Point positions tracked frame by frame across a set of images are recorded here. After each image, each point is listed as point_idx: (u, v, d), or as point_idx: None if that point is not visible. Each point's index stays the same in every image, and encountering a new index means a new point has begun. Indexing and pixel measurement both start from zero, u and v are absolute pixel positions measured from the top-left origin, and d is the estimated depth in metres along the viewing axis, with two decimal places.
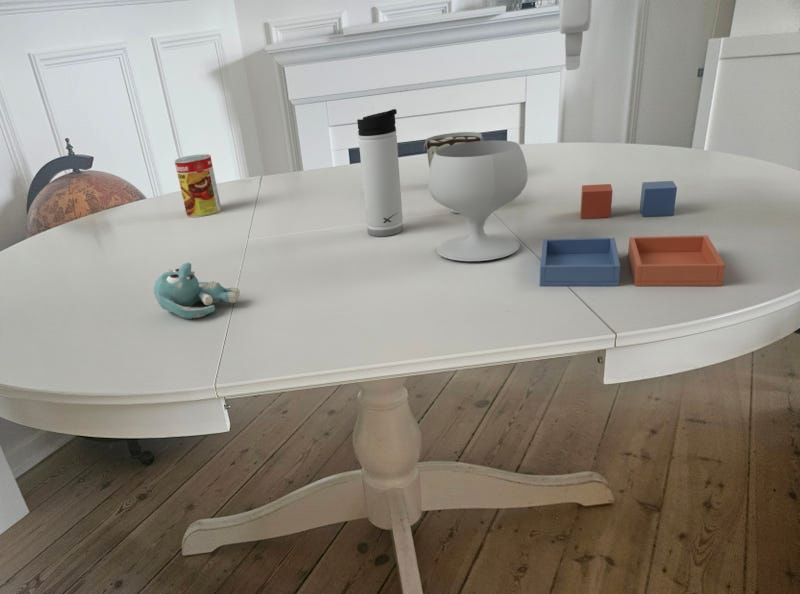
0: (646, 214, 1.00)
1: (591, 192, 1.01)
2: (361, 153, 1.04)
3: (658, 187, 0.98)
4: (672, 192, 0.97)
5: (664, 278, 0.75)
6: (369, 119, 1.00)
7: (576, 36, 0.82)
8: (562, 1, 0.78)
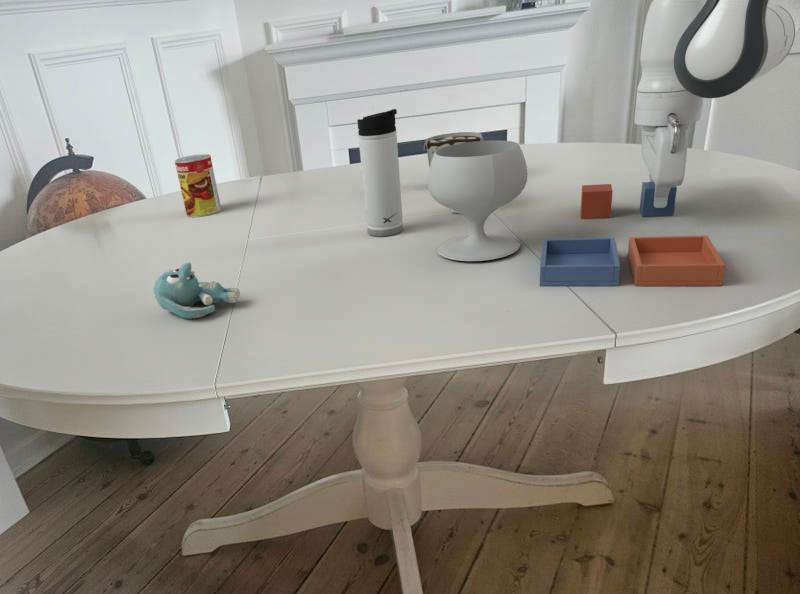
0: (646, 214, 1.00)
1: (591, 192, 1.01)
2: (361, 153, 1.04)
3: None
4: (672, 192, 0.97)
5: (664, 278, 0.75)
6: (369, 119, 1.00)
7: None
8: (659, 161, 0.89)
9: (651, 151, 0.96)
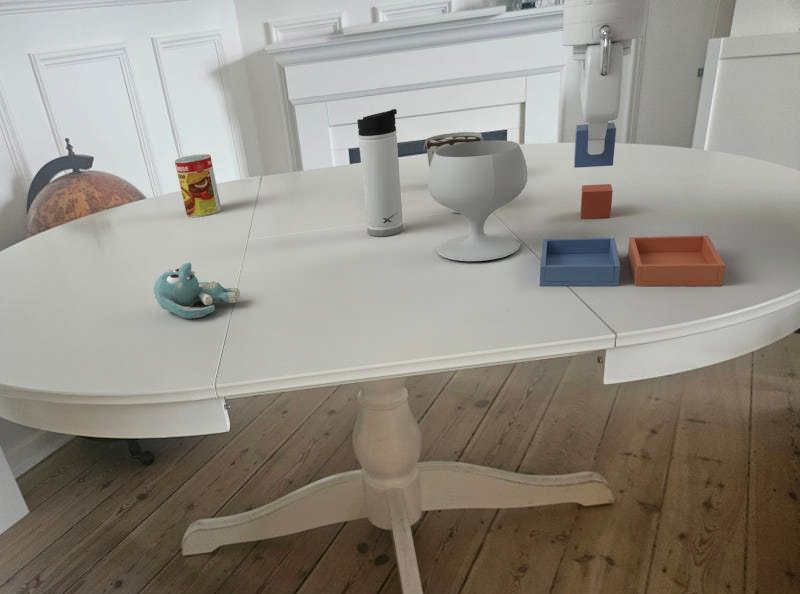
0: (579, 164, 0.78)
1: (591, 192, 1.01)
2: (361, 153, 1.04)
3: None
4: (611, 134, 0.76)
5: (664, 278, 0.75)
6: (369, 119, 1.00)
7: (601, 120, 0.73)
8: (587, 87, 0.68)
9: (583, 81, 0.75)
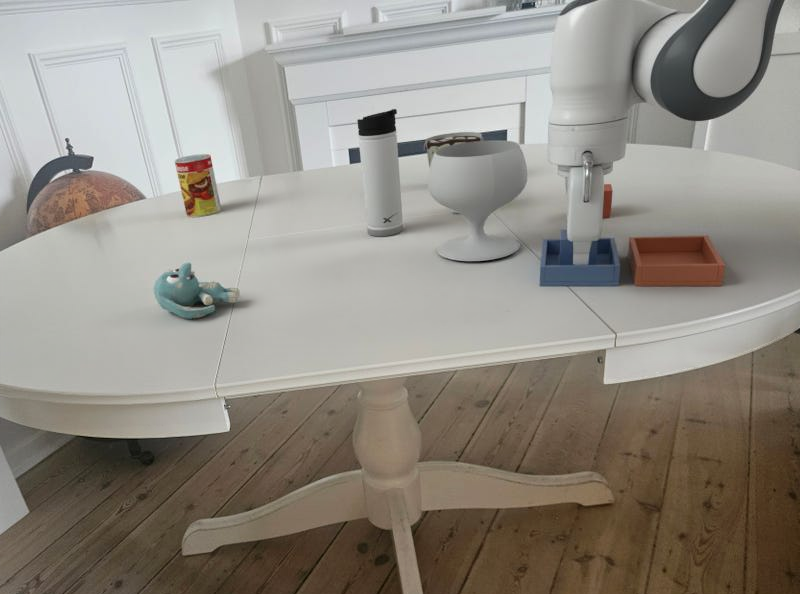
0: None
1: None
2: (361, 153, 1.04)
3: None
4: (593, 244, 0.79)
5: (664, 278, 0.75)
6: (369, 119, 1.00)
7: None
8: (570, 212, 0.71)
9: None
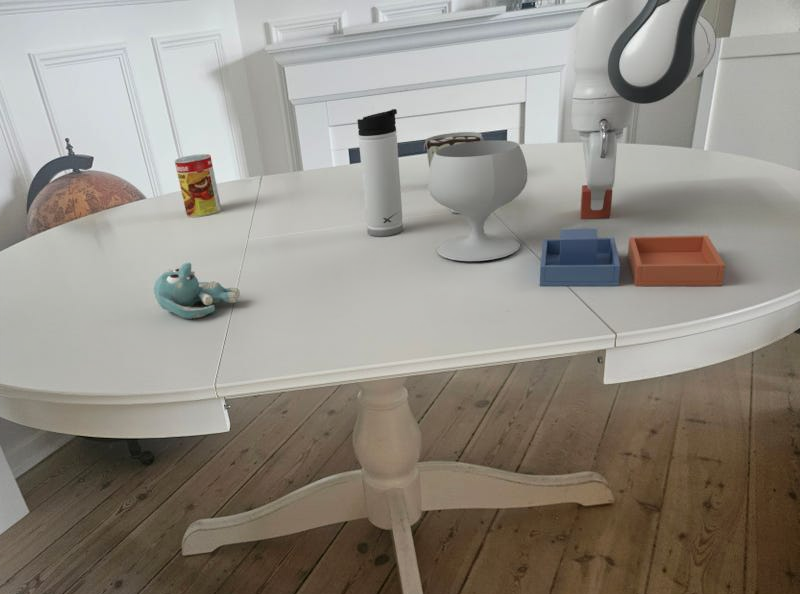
0: None
1: None
2: (361, 153, 1.04)
3: (576, 238, 0.80)
4: (593, 244, 0.79)
5: (664, 278, 0.75)
6: (369, 119, 1.00)
7: None
8: (590, 166, 0.92)
9: (587, 155, 0.99)
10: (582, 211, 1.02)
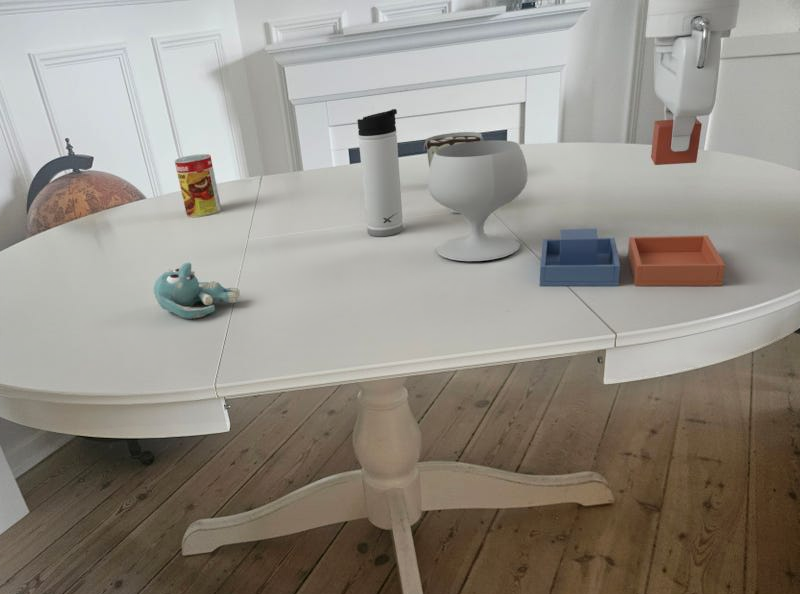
0: None
1: (671, 127, 0.73)
2: (361, 153, 1.04)
3: (576, 238, 0.80)
4: (593, 244, 0.79)
5: (664, 278, 0.75)
6: (369, 119, 1.00)
7: None
8: (681, 81, 0.65)
9: (668, 74, 0.72)
10: (657, 154, 0.75)
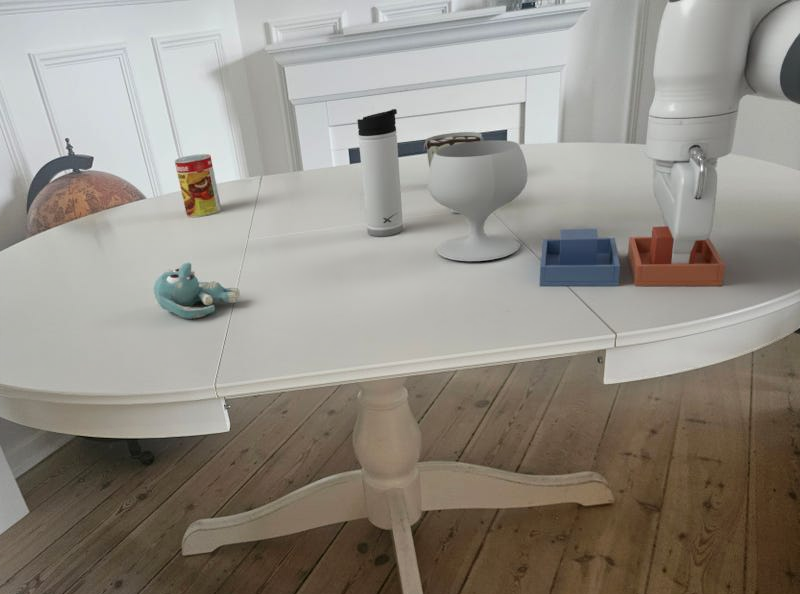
0: None
1: (668, 238, 0.76)
2: (361, 153, 1.04)
3: (576, 238, 0.80)
4: (593, 244, 0.79)
5: (664, 278, 0.75)
6: (369, 119, 1.00)
7: None
8: (679, 209, 0.68)
9: (667, 191, 0.75)
10: (655, 262, 0.78)
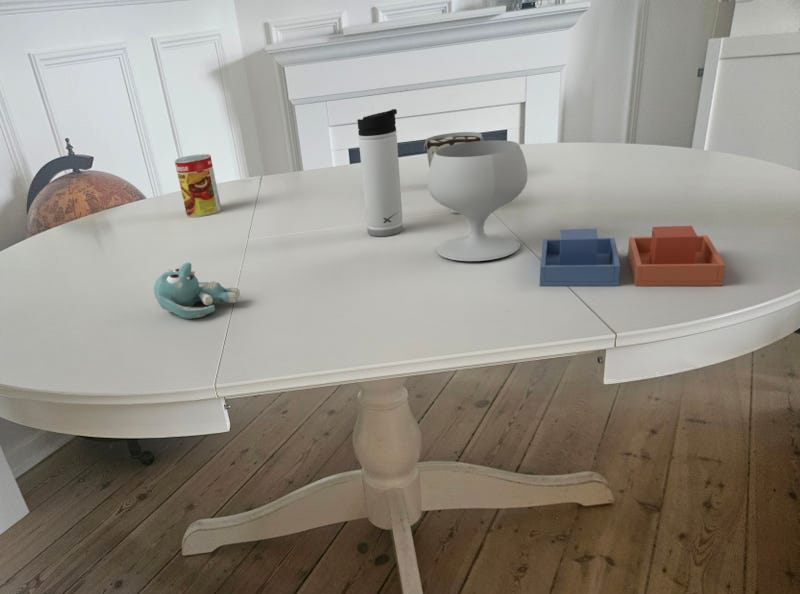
0: None
1: (668, 238, 0.76)
2: (361, 153, 1.04)
3: (576, 238, 0.80)
4: (593, 244, 0.79)
5: (664, 278, 0.75)
6: (369, 119, 1.00)
7: None
8: None
9: None
10: (655, 262, 0.78)
